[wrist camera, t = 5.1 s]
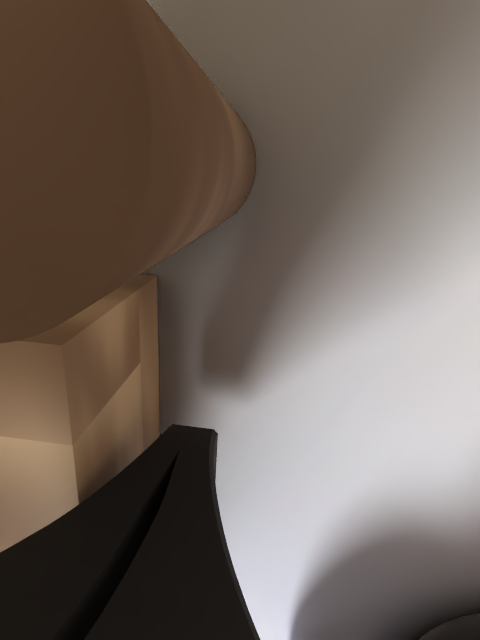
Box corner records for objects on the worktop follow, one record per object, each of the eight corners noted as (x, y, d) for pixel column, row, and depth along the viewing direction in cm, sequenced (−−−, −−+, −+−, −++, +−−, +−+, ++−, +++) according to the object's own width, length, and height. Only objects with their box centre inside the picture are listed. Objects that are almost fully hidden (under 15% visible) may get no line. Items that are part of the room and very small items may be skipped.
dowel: (251, 232, 10) (156, 364, 3) (135, 223, 11) (-215, 324, 3) (260, 95, 9) (145, -227, 2) (130, 90, 10) (-406, -207, 2)
